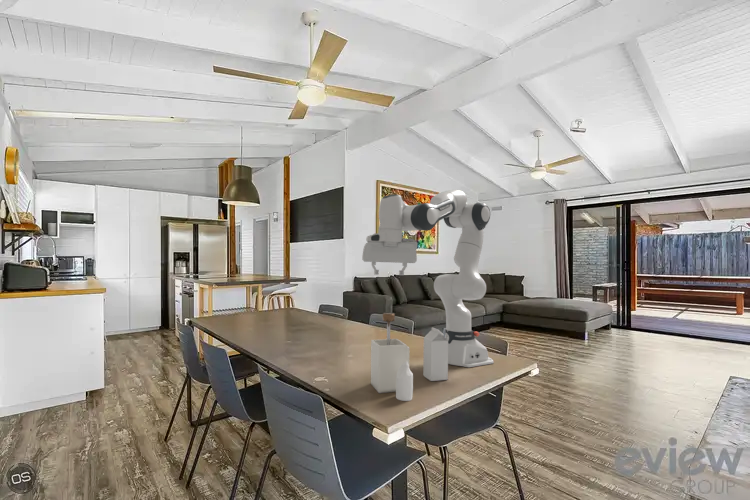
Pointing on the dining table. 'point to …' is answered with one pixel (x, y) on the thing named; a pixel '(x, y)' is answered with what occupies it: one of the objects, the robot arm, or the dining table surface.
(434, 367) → the milk carton
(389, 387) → the open-top square canister
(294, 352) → the dining table surface
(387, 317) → the plunger
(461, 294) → the robot arm
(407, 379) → the white bottle
